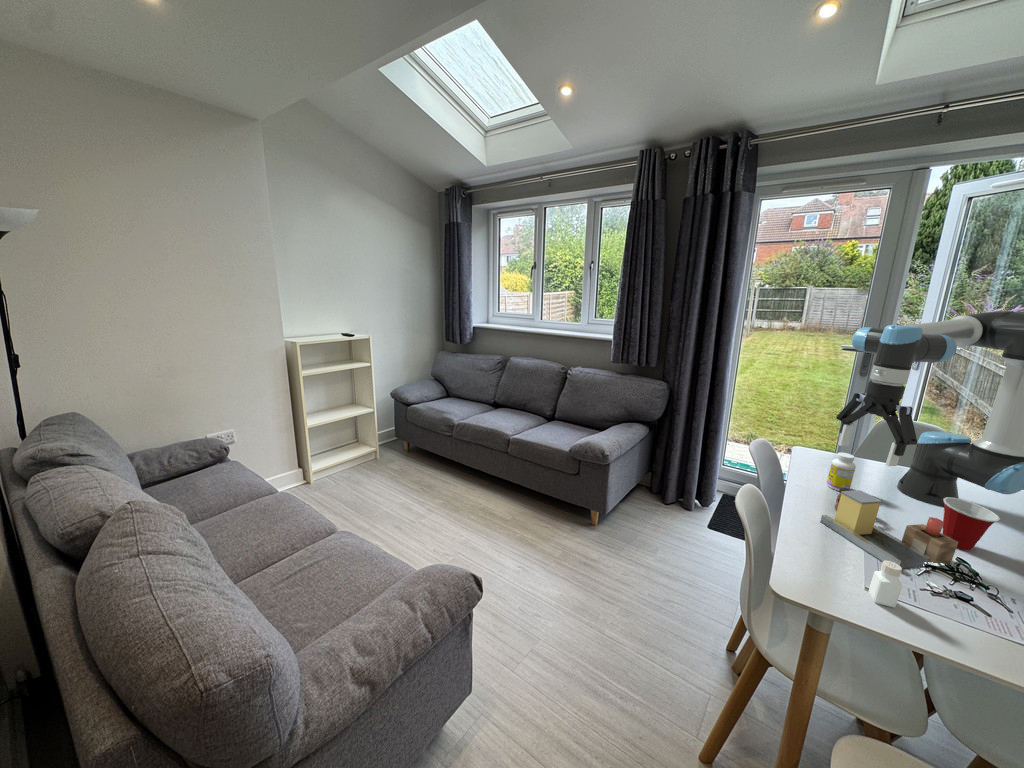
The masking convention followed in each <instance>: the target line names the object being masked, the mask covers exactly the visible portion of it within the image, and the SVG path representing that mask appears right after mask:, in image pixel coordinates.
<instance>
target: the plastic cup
mask: <svg viewBox="0 0 1024 768" xmlns="http://www.w3.org/2000/svg"><path fill="white" fill-rule="evenodd" d="M943 501H944V506H943V507H944V508H943V517H942V518H943V520H942V521H943V522H944V524H943V527H942V532H941V533H942V534H944V535H946V536H947V537H949V538H951V539H953V540H955V541H957V542H958V545H957V548H956V550H957V549H958V550H961V551H969V552H970V551H971V550H973V549H974V547H975V545H976V544H977V543H978V542H979V541H980V540H981V539H982V537H983V536H984V535H985V533H986V532H987V531H988V529H989V528H990V527H991V526H992V525H993V524H994V523H997V522H999V521H1000V520H1001V518H1000V516H999V515H998V514H997V513H995V512H993V511H992V510H990V509H988V508H986V507H984V506H982V505H979V504H977V503H974V502H972V501H968V500H965V499H961V498H959V499H957V498H949V497H946V498H944V499H943Z"/></svg>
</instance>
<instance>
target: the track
mask: <svg viewBox="0 0 1024 768" xmlns="http://www.w3.org/2000/svg"><path fill="white" fill-rule="evenodd" d="M834 519H835V518H833V517H830V516H829V515H828V514H822V515H821V518H820V523H821V524H823V525H824V526H825V527H826V528H828V529H830V530H832V531H833V532H834V533H836V534H838V535H839V536H841V537H843V538H844V539H846V540H847V541H849V542H850V543H851V544H852V545H855V546H857V547H858V548H859V549H861V550H862V551H864V552H865V553H867V554H868V555H870V556H871V557H873V558H875V559H876V560H878V561H880V562H881V563H883V561H885V560H886V561H891V562H894V563H896V564H898V565H899V566H900V567H901V568H902V570H903V569H912V568H913V569H914V568H923V564H924V562H930V561H931V557H929V556H927V555H925V554H924V553H922V552H920V551H918V550H917V549H915V548H913V547H911V546H910V545H908V544H906V543H904V542H903V541H902V539H900V538H897V537H895V536H894V535H892V534H890V533H889V532H887V531H885V530H883V529H882V528H880V527H878V526H877V525H875V524H874V527H873V530H872V533H871V534H862V535H858V534H857V533H855V532H853V531H852V530H850V529H849V528H847V527H845V526H844V525H842V524H840V523H839V522H837V521H836V520H834Z"/></svg>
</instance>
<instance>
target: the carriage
mask: <svg viewBox="0 0 1024 768" xmlns="http://www.w3.org/2000/svg"><path fill="white" fill-rule="evenodd" d="M881 503H882V500H880V499H878V498H876V497H874V496H873V495H870V494H868V493H867V492H865V491H863V490H859V489H857V490H849V491H841V497H840V501H839V505H838V508H837V511H836V513H835V516H834V518H833V519H834V520H836V521H837V522H839V523H840V524H842V525H844V526H845V527H847V528H849V529H850V530H852V531H853V532H855V533H857V534H858V535H862V534H871V533H872V530H873V527H874V525H875V523H876V520H877V516H878V513H879V510H880V506H881Z"/></svg>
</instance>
